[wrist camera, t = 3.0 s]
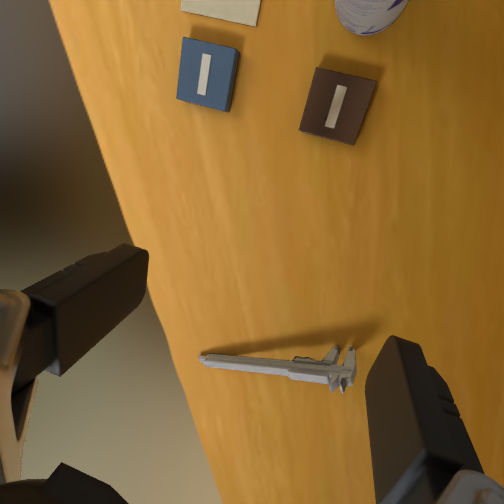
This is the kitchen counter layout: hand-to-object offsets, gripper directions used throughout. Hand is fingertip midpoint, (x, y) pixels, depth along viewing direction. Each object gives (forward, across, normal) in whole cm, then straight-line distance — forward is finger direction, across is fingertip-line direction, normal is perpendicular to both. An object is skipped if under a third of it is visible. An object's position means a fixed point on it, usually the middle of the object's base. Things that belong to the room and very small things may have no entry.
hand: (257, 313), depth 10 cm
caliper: (+22, +2, -21) cm, 31 cm away
